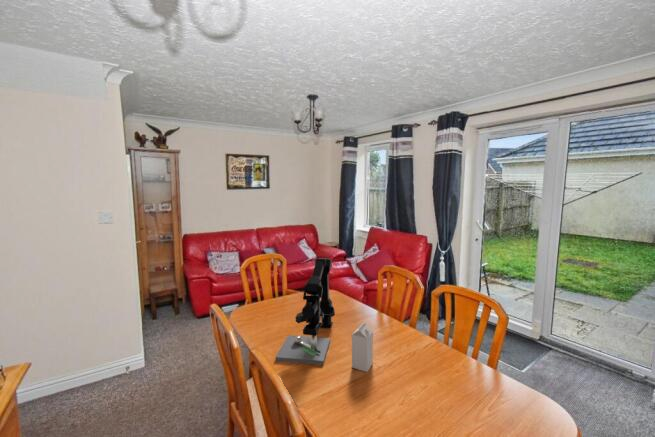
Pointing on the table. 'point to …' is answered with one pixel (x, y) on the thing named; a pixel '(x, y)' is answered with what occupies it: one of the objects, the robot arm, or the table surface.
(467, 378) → the table surface
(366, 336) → the milk carton
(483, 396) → the table surface
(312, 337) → the lever
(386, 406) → the table surface
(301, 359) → the board
